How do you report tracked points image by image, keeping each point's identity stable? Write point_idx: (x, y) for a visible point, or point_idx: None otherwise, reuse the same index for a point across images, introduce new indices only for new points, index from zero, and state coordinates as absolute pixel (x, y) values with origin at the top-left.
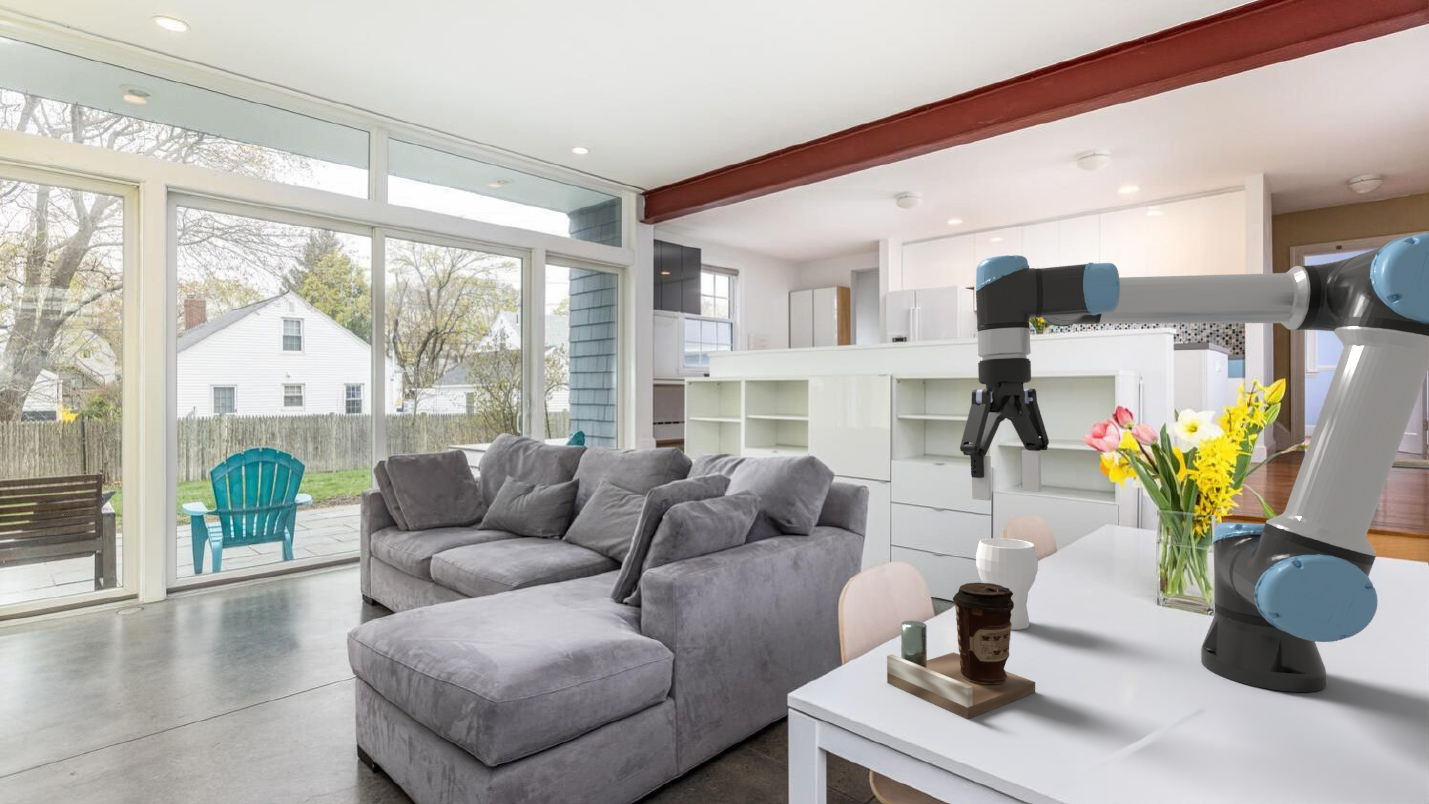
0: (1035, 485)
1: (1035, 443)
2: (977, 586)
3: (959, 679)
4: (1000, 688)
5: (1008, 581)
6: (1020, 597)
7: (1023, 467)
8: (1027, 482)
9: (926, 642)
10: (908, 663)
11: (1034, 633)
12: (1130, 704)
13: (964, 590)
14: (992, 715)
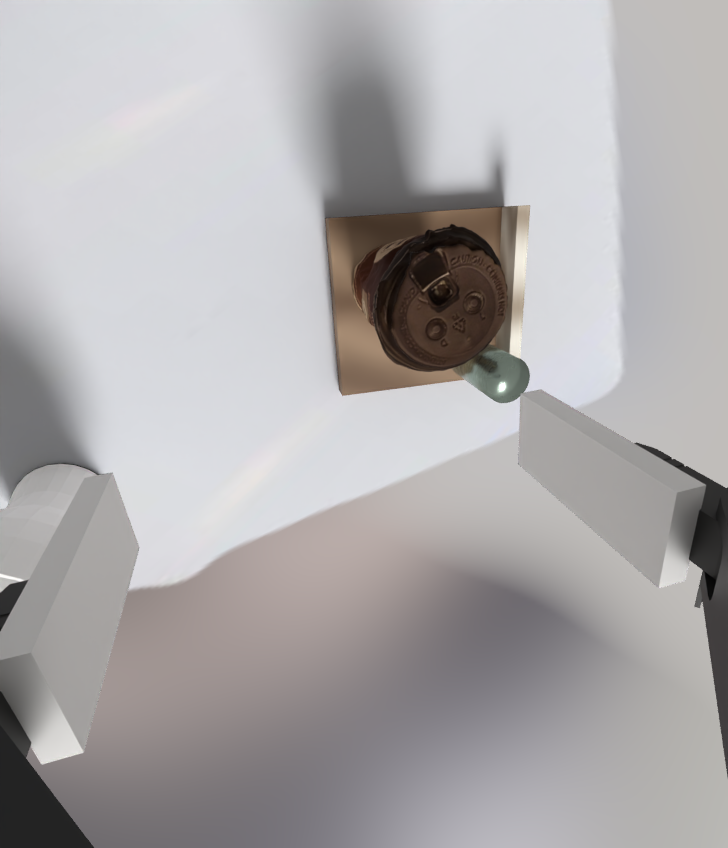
0: (109, 507)
1: (6, 733)
2: (438, 337)
3: None
4: (407, 231)
5: None
6: (41, 502)
7: (109, 636)
8: (123, 553)
9: (482, 354)
10: (518, 338)
11: (55, 437)
12: (204, 74)
13: (504, 317)
14: (463, 194)
